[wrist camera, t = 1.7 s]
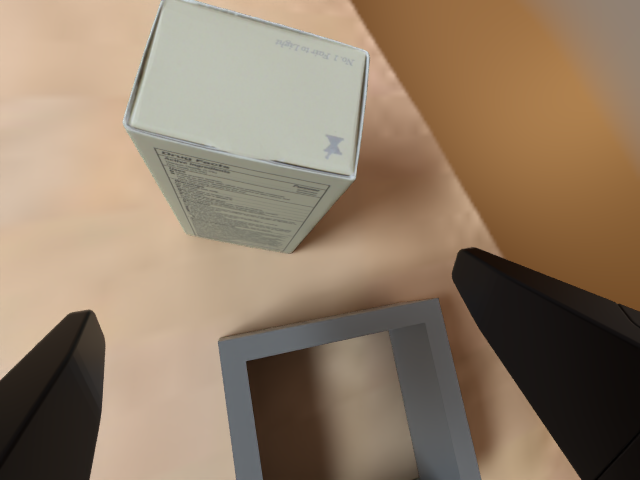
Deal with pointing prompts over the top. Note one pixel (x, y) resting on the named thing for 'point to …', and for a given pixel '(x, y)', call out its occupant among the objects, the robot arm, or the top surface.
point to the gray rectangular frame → (413, 371)
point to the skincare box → (246, 123)
